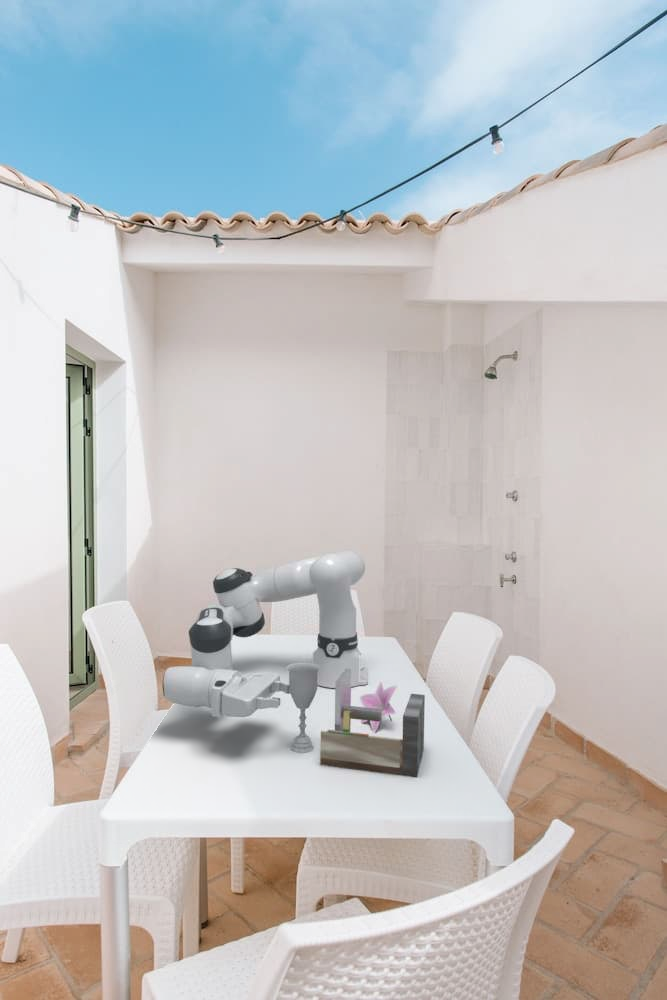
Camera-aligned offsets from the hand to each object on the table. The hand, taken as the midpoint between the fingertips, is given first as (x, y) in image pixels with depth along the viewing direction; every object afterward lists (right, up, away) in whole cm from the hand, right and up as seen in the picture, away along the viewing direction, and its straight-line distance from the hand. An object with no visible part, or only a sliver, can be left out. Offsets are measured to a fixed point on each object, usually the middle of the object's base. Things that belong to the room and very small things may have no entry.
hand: (286, 696), depth 133 cm
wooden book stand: (+19, -12, -4) cm, 23 cm away
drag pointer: (+13, -10, -8) cm, 18 cm away
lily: (+22, -12, +14) cm, 28 cm away
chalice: (+4, -12, 0) cm, 12 cm away
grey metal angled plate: (+16, -10, -4) cm, 19 cm away
